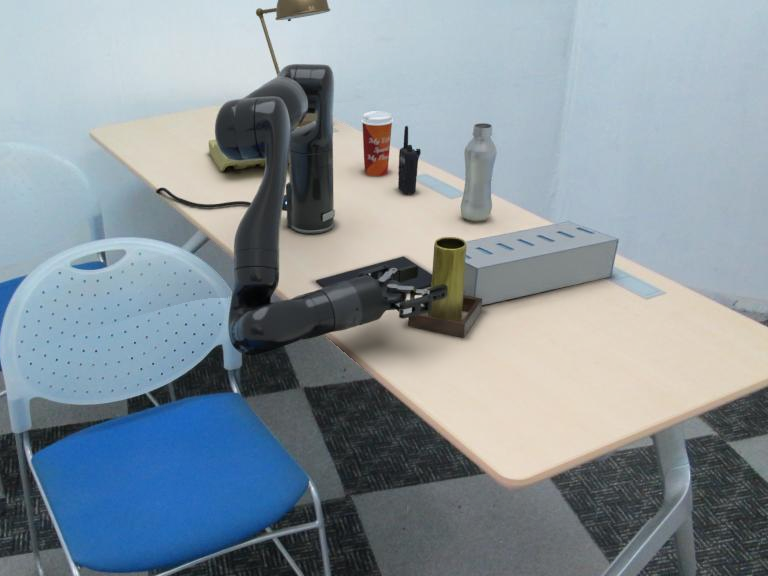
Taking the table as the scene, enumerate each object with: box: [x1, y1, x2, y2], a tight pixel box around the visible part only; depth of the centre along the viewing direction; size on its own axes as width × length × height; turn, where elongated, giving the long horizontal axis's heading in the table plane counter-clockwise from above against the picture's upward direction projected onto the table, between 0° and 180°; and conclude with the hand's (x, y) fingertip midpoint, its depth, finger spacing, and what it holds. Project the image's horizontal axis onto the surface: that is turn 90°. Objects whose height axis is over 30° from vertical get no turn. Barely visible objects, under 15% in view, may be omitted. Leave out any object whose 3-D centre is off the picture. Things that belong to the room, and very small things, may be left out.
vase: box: [427, 236, 467, 321], centre depth 146 cm, size 6×6×14 cm
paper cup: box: [360, 110, 394, 177], centre depth 207 cm, size 8×8×14 cm
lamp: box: [255, 0, 331, 127], centre depth 241 cm, size 15×34×37 cm, turn 29°
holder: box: [407, 295, 483, 338], centre depth 149 cm, size 10×10×3 cm
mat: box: [315, 256, 432, 294], centre depth 162 cm, size 20×13×1 cm, turn 118°
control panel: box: [208, 127, 299, 172], centre depth 217 cm, size 24×16×20 cm
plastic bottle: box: [459, 122, 498, 222], centre depth 180 cm, size 6×7×20 cm
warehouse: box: [463, 221, 620, 306], centre depth 160 cm, size 30×14×8 cm, turn 112°
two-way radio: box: [397, 125, 422, 195], centre depth 196 cm, size 6×4×15 cm
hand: (431, 280), depth 144 cm, fingers open, 8 cm apart
